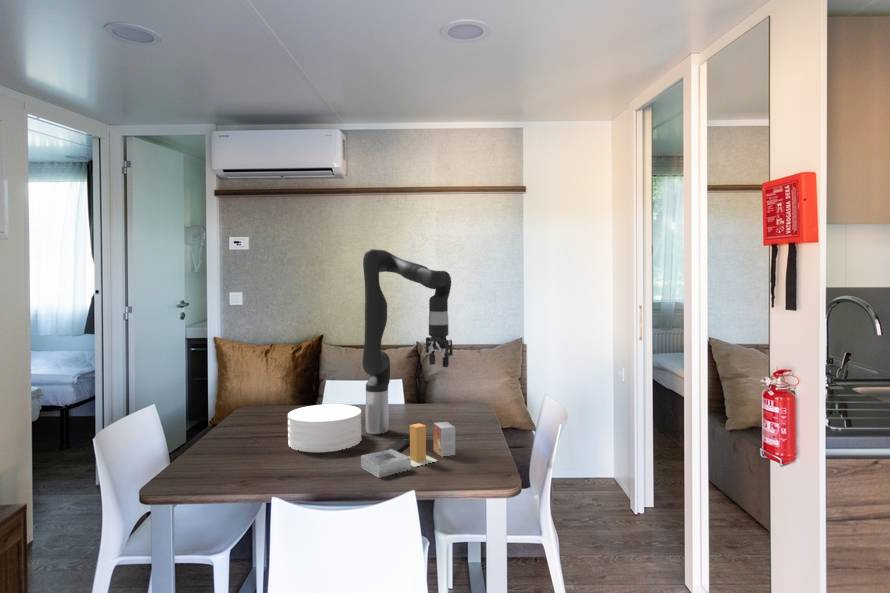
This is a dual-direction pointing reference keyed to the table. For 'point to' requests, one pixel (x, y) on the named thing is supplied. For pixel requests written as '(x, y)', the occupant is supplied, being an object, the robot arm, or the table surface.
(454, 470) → the table surface
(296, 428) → the plate stack
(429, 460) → the mat
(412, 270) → the robot arm
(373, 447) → the table surface
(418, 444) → the key peg
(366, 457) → the socket block
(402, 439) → the remote control
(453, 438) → the small box
